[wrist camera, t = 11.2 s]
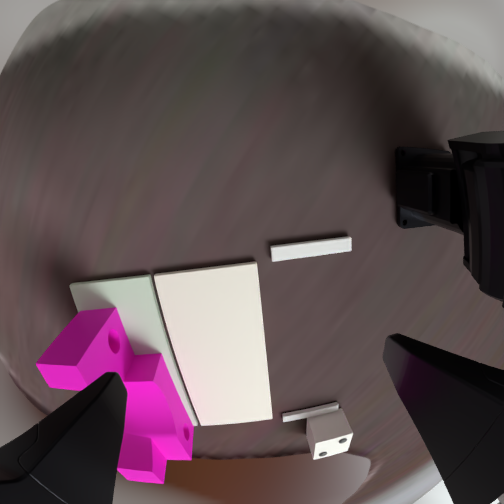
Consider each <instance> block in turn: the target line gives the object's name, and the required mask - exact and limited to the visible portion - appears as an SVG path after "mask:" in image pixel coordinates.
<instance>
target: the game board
mask: <svg viewBox="0 0 504 504" xmlns="http://www.w3.org/2000/svg"><path fill="white" fill-rule="evenodd" d="M270 249H271V260H272V262H273V261H281V260H288V259H296V258H303V257H311V256H318V255H325V254H333V253H340V252H347V251H351V237H349V236H347V237H339V238H331V239H322V240H314V241H306V242H298V243H290V244H282V245H274V246H270ZM154 279H155V283H156V287H157V292H158V296H159V299H160V303H161V307H162V311H163V315H164V318H165V322H166V325H167V329H168V332H169V336H170V339H171V342H172V346H173V349H174V352H175V355H176V358H177V361H178V364H179V367H180V370H181V373H182V376H183V379H184V382H185V385H186V388H187V390H188V393H189V396H190V398H191V401H192V404H193V406H194V409H195V411H196V414H197V417H198V419H199V421H200V424H201V426H203V425H221V424H233V423H243V422H252V421H260V420H267V419H273V418H272V408H271V398H270V388H269V378H268V368H267V358H266V348H265V338H264V328H263V318H262V308H261V299H260V289H259V279H258V270H257V262H256V261H255V262H247V263H239V264H231V265H223V266H215V267H207V268H199V269H191V270H182V271H174V272H166V273H157V274H155V275H154ZM69 287H70V290H71V293H72V296H73V299H74V302H75V305H76V307H77V310H78V313H79V311H84V310H95V309H105V308H114V307H116V308H117V310H118V313H119V316H120V319H121V321H122V324H123V327H124V329H125V332H126V334H127V337H128V339H129V342H130V344H131V347H132V349H133V351H134V354H135V355H143V354H158V353H162V356H163V358H164V361H165V363H166V366H167V368H168V371H169V373H170V376H171V378H172V380H173V383H174V385H175V387H176V390H177V392H178V394H179V396H180V399H181V401H182V403H183V405H184V407H185V409H186V412H187V414H188V416H189V418H190V420H191V422H192V424H193V426H197V425H198V422H197V419H196V417H195V415H194V412H193V410H192V407H191V404H190V402H189V399H188V397H187V394H186V391H185V389H184V386H183V383H182V380H181V378H180V375H179V372H178V369H177V366H176V363H175V360H174V357H173V354H172V351H171V348H170V344H169V341H168V338H167V335H166V331H165V328H164V324H163V321H162V317H161V314H160V310H159V306H158V303H157V299H156V295H155V291H154V287H153V283H152V279H151V275H150V274H149V275H140V276H131V277H123V278H114V279H105V280H96V281H87V282H78V283H71V284H70V285H69ZM338 406H339V404H338V402H334V403H330V404H326V405H322V406H317V407H313V408H308V409H304V410H299V411H293V412H288V413H282V416H283V422H287V421H293V420H298V419H303V418H308V417H312V416H317V415H321V414H325V413H329V412H333V411H337V410H338Z"/></svg>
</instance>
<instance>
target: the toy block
mask: <svg viewBox="0 0 504 504" xmlns="http://www.w3.org/2000/svg"><path fill="white" fill-rule="evenodd" d="M36 365H37V367H38V369H39V370H40V372H41V374H42V375H43V377H44V379H45V380H46V382H47V384H48V385H49V387H51V388H59V389H68V390H78V391H81V390H83V389H84V388H85V387H87V386H88V385H89V384H91V383H92V382H93V381H95V380H96V379H97V378H99V377H100V376H101V375H103V374H104V373H105V372H117V373H118V374H119V375H120V377H121V379H122V381H123V383H124V385H125V387H126V389H127V393H128V397H127V405H126V415H125V426H124V434H123V439H122V445H121V450H120V455H119V461H118V467H117V470H118V471H119V472H120V473H121V474H122V475H123V476H124V477H125V478H126V479H127V480H132V481H140V482H149V483H160V484H164V477H165V469H166V461H167V460H191V458H192V443H193V430H194V426H193V424H192V422H191V420H190V418H189V416H188V414H187V412H186V409H185V407H184V405H183V403H182V401H181V399H180V396H179V394H178V392H177V390H176V387H175V385H174V383H173V380H172V378H171V376H170V373H169V371H168V368H167V366H166V363H165V361H164V358H163V356H162V353H158V354H143V355H135V354H134V351H133V349H132V347H131V344H130V342H129V339H128V337H127V334H126V332H125V329H124V327H123V324H122V321H121V319H120V316H119V313H118V310H117V308H116V307H114V308H105V309H95V310H84V311H79V313H78V314H77V315H76V316H75V317H74V318H73V319H72V320H71V322H70V323H69V324H68V325H67V326H66V327H65V328H64V330H63V331H62V332H61V333H60V334H59V335H58V337H57V338H56V339H55V340H54V341H53V343H52V344H51V345H50V346H49V347H48V349H47V350H46V351H45V352H44V353H43V355H42V356H41V357H40V358H39V360H38V361H37V362H36Z"/></svg>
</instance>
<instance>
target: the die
mask: <svg viewBox="0 0 504 504" xmlns="http://www.w3.org/2000/svg"><path fill="white" fill-rule="evenodd" d="M352 435H353V432H352V430H351V428H350V425H349V423H348V421H347V419H346V417H345V414H344V412H343V410H342V408H340V409H338V410H337V411H333V412H329V413H325V414H321V415H317V416H312V417H308V418H307V428H306V436H307V440H308V443H309V446H310V450H311V453H312V456H313V459H319V458H323V457H327V456H331V455H334V454H338V453H341V452H345V451H348V448H349V445H350V442H351V438H352Z"/></svg>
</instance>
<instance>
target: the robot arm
mask: <svg viewBox="0 0 504 504" xmlns="http://www.w3.org/2000/svg"><path fill="white" fill-rule="evenodd" d="M448 143H449V147H450V149H451V150H452V154H451V153H450V152H449V151H443V150H434V149H425V148H413V147H397V148H396V150H395V157H396V172H397V173H396V183H397V204H398V217H397V222H398V226H399V227H401V228H404V229H406V228H415V227H423V226H432V225H437V226H440V227H443V228H446V229H449V230H451V231H454V232H457V233H460V234H462V235H464V257H463V264H464V266H465V267H466V268H467V269H468V270H469V271H470V272H471V275H472V276H473V278H474V279H475V280H476V281H477V283H478V284H479V289H480V290H481V291H482V292H483V293H485V294H487V295H488V296H490V297H493V298H495V299H497V300H500V301H503V304H502V307H503V308H504V131H493V132H481V133H476V134H472V135H467V136H463V137H459V138H454V139H450V140H448ZM401 151H402V153H403V154H402V155H401V153H400V152H401ZM403 220H404V221H405V222H404V224H403ZM383 360H384V363H385V365H386V367H387V370H388V372H389V374H390V376H391V379H392V381H393V383H394V386H395V388H396V390H397V393H398V395H399V397H400V398H401V400H402V402H403V404H404V406H405V407H406V409H407V411H408V413H409V415H410V416H411V418H412V420H413V422H414V424H415V426H416V428H417V429H418V431H419V433H420V435H421V437H422V439H423V441H424V443H425V445H426V447H427V448H428V450H429V452H430V454H431V456H432V458H433V460H434V462H435V464H436V466H437V468H438V471H439V473H440V475H441V477H442V479H443V481H444V483H445V486H446V488H447V490H448V492H449V494H450V496H451V498H452V501H453V503H454V504H490V503H492V502H493V501H495V500H496V499H497V498H498V500H499V501H500V502H499V503H498V504H504V370H501V369H498V368H494V367H491V366H488V365H485V364H482V363H479V362H476V361H474V360H471V359H468V358H465V357H462V356H459V355H456V354H454V353H451V352H448V351H445V350H442V349H440V348H437V347H434V346H431V345H429V344H426V343H423V342H420V341H418V340H415V339H412V338H409V337H407V336H404V335H401V334H399V333H396V334H392V335H389V336H388V337H387V338H386V341H385V347H384V352H383ZM127 397H128V393H127V389H126V387H125V385H124V383H123V381H122V379H121V377H120V375H119V374H118V373H117V372H105V373H104V374H103V375H101V376H100V377H99V378H97V379H96V380H95V381H93V382H92V383H91V384H89V385H88V386H87V387H85V388H84V389H83V390H81V391H80V392H79V393H77V394H76V395H75V396H73V397H72V398H71V399H69V400H68V401H67V402H65V403H64V404H63V405H61V406H60V407H59V408H57V409H56V410H55V411H53V412H52V413H51V414H49V415H48V416H47V417H45V418H44V419H42V420H41V421H40V422H39V424H38V423H37V424H36V425H34V426H33V427H32V428H30V429H29V430H28V431H26V432H25V433H23V434H22V435H20V436H19V437H17V438H15V439H14V440H13V441H10V442H9V443H7V444H5V445H4V446H2V447H0V504H112V501H113V493H114V486H115V480H116V473H117V467H118V461H119V455H120V450H121V445H122V439H123V434H124V426H125V415H126V405H127Z"/></svg>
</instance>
